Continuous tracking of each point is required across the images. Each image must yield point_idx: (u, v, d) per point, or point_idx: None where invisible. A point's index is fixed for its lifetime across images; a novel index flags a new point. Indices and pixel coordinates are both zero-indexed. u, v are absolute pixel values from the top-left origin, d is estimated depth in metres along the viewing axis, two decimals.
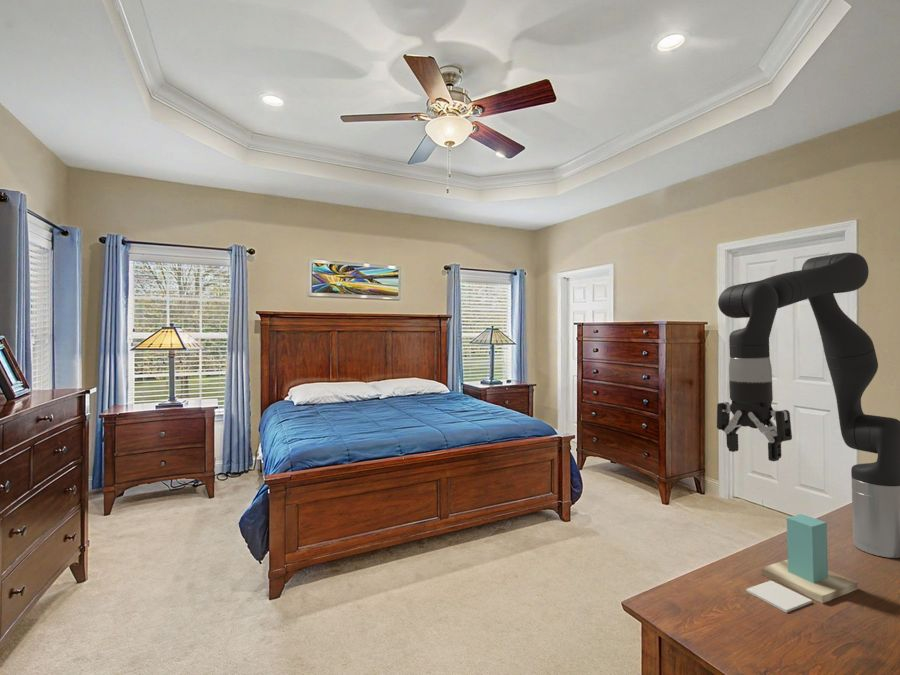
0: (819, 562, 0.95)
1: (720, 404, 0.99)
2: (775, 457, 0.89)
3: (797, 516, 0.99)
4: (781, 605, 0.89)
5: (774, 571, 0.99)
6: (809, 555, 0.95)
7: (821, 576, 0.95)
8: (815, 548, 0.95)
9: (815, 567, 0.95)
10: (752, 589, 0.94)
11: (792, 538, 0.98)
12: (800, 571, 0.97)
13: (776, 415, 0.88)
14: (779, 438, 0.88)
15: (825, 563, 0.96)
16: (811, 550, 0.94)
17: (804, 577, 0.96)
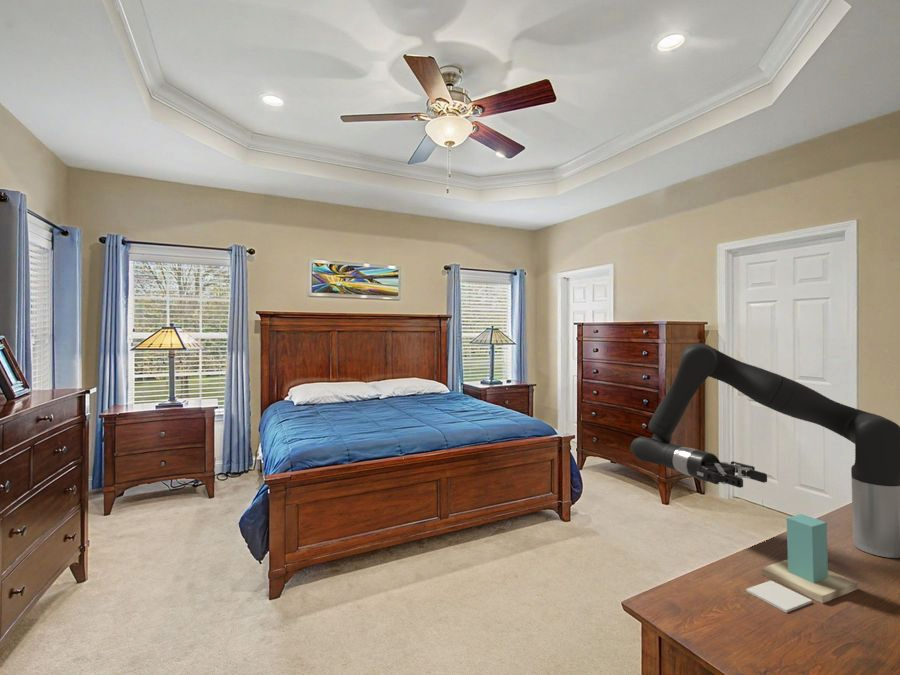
0: (819, 562, 0.95)
1: None
2: (736, 485, 1.07)
3: (797, 516, 0.99)
4: (781, 605, 0.89)
5: (774, 571, 0.99)
6: (809, 555, 0.95)
7: (821, 576, 0.95)
8: (815, 548, 0.95)
9: (815, 567, 0.95)
10: (752, 589, 0.94)
11: (792, 538, 0.98)
12: (800, 571, 0.97)
13: None
14: None
15: (825, 563, 0.96)
16: (811, 550, 0.94)
17: (804, 577, 0.96)
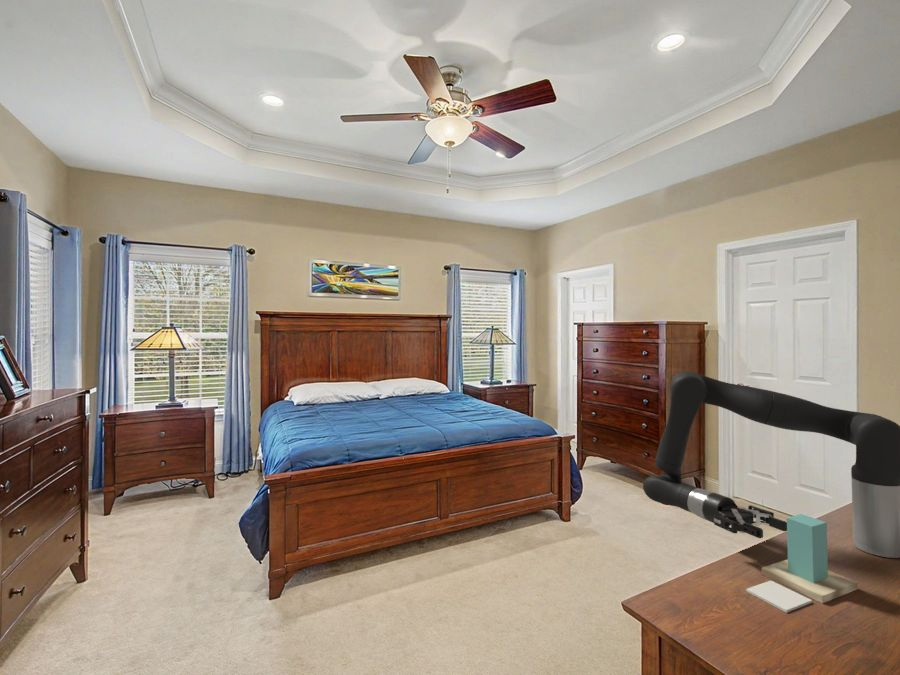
0: (819, 562, 0.95)
1: None
2: None
3: (797, 516, 0.99)
4: (781, 605, 0.89)
5: (774, 571, 0.99)
6: (809, 555, 0.95)
7: (821, 576, 0.95)
8: (815, 548, 0.95)
9: (815, 567, 0.95)
10: (752, 589, 0.94)
11: (792, 538, 0.98)
12: (800, 571, 0.97)
13: None
14: None
15: (825, 563, 0.96)
16: (811, 550, 0.94)
17: (804, 577, 0.96)
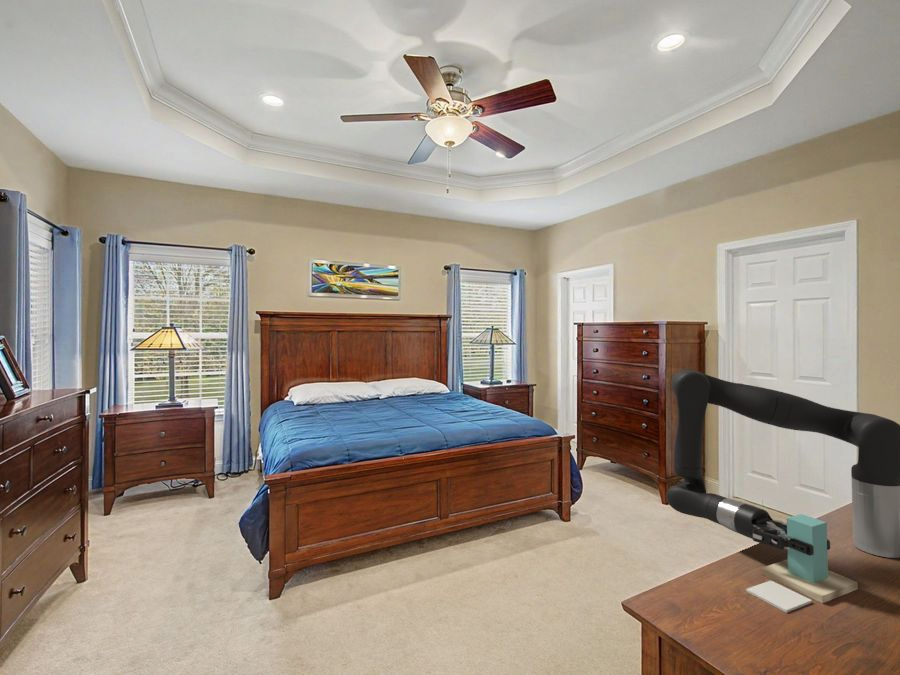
0: (819, 562, 0.95)
1: None
2: None
3: (797, 516, 0.99)
4: (781, 605, 0.89)
5: (774, 571, 0.99)
6: None
7: (821, 576, 0.95)
8: (815, 548, 0.95)
9: (815, 567, 0.95)
10: (752, 589, 0.94)
11: (792, 538, 0.98)
12: (800, 571, 0.97)
13: None
14: None
15: (825, 563, 0.96)
16: None
17: (804, 577, 0.96)
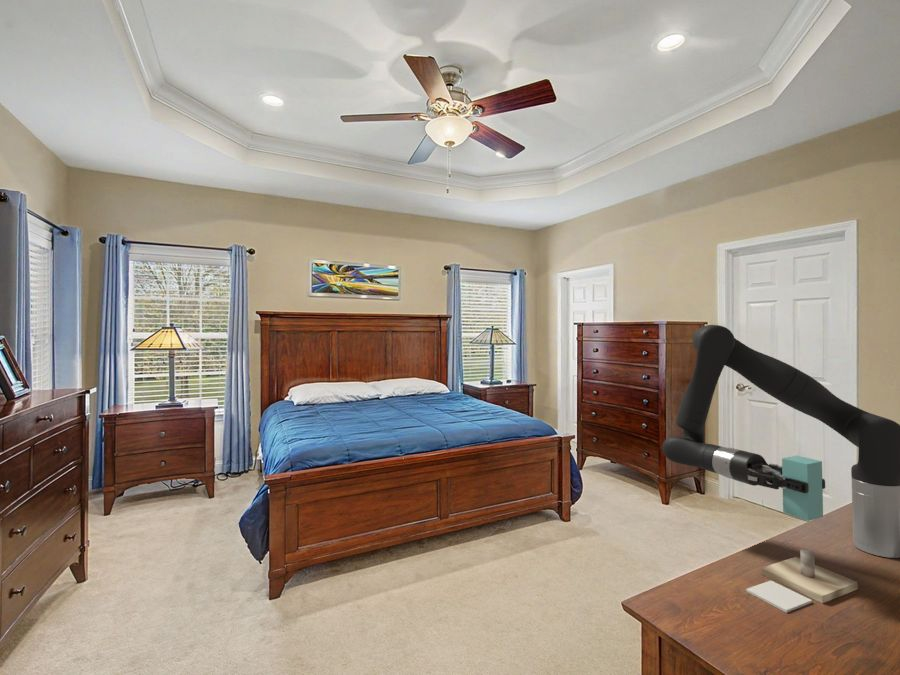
0: (814, 500, 0.95)
1: None
2: (800, 490, 0.94)
3: (792, 457, 0.99)
4: (781, 605, 0.89)
5: (774, 571, 0.99)
6: (804, 493, 0.95)
7: (816, 515, 0.95)
8: (810, 486, 0.94)
9: (810, 505, 0.94)
10: (752, 589, 0.94)
11: (787, 478, 0.98)
12: (795, 510, 0.96)
13: None
14: None
15: (820, 502, 0.95)
16: None
17: (799, 516, 0.96)
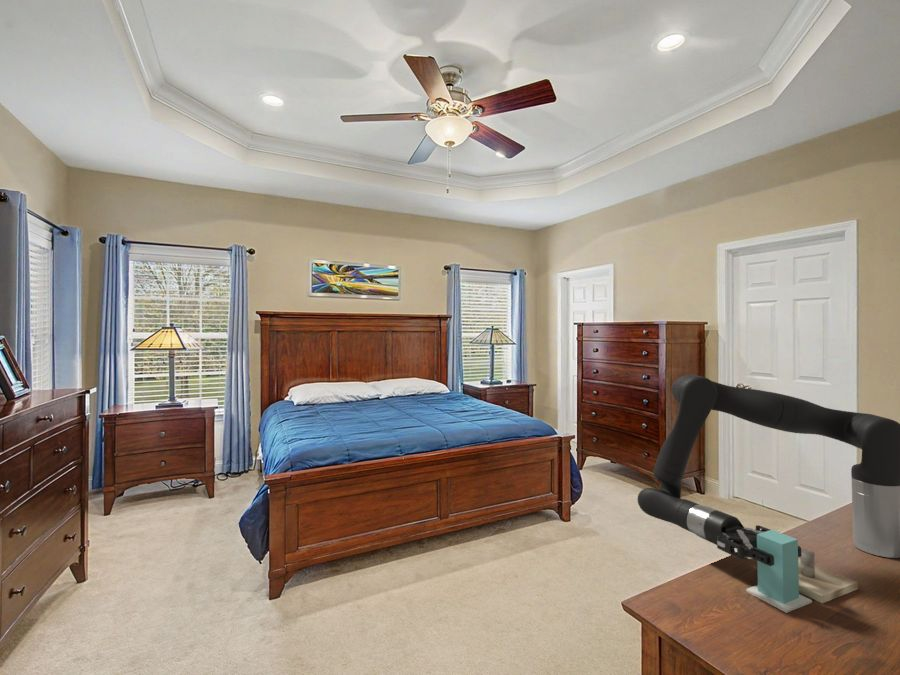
0: (790, 582, 0.90)
1: None
2: None
3: (768, 532, 0.94)
4: (781, 605, 0.89)
5: None
6: (779, 574, 0.90)
7: (792, 596, 0.90)
8: (785, 567, 0.89)
9: (785, 587, 0.89)
10: (752, 589, 0.94)
11: None
12: (770, 590, 0.91)
13: None
14: None
15: (796, 582, 0.91)
16: (781, 569, 0.89)
17: (774, 597, 0.91)
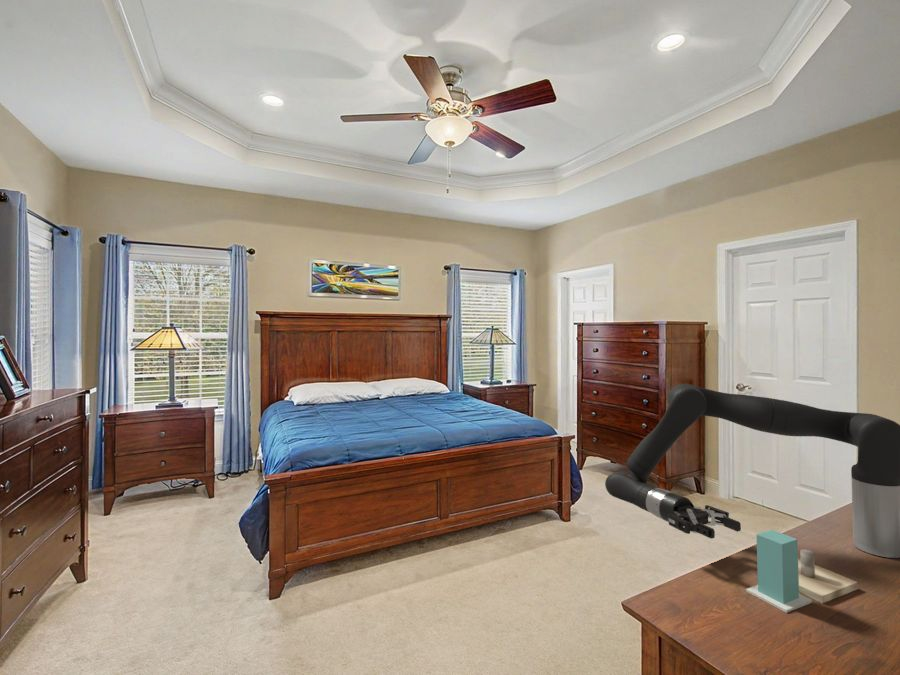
0: (790, 581, 0.90)
1: None
2: None
3: (767, 532, 0.94)
4: (781, 605, 0.89)
5: None
6: (779, 574, 0.90)
7: (792, 596, 0.90)
8: (785, 567, 0.89)
9: (785, 587, 0.89)
10: (752, 589, 0.94)
11: (762, 556, 0.93)
12: (770, 590, 0.91)
13: None
14: None
15: (796, 582, 0.91)
16: (781, 569, 0.89)
17: (774, 597, 0.91)
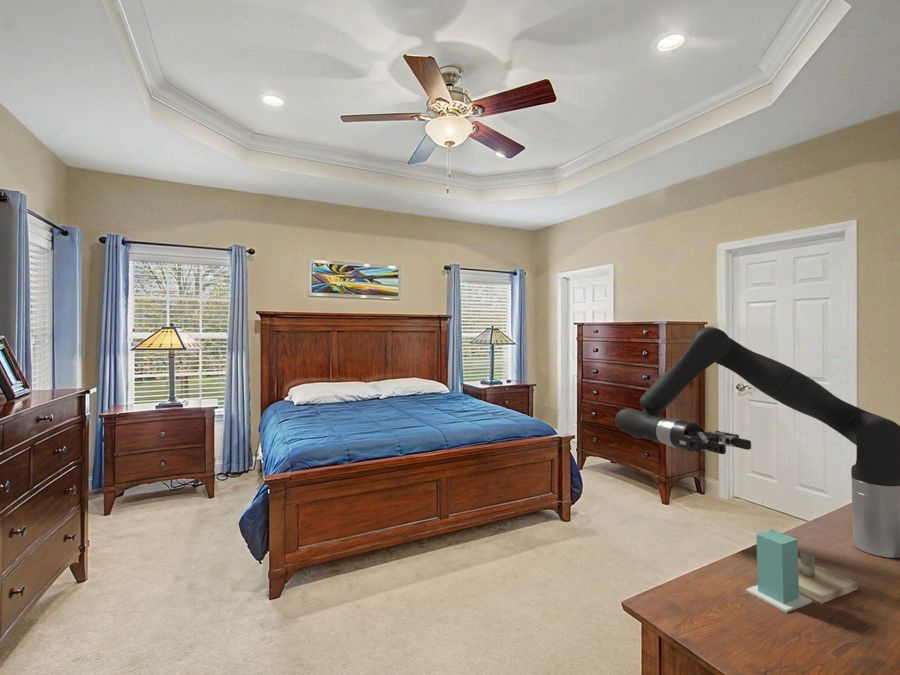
0: (790, 581, 0.90)
1: None
2: (718, 452, 1.03)
3: (767, 532, 0.94)
4: (781, 605, 0.89)
5: None
6: (779, 574, 0.90)
7: (792, 596, 0.90)
8: (785, 567, 0.89)
9: (785, 587, 0.89)
10: (752, 589, 0.94)
11: (762, 556, 0.93)
12: (770, 590, 0.91)
13: None
14: None
15: (796, 582, 0.91)
16: (781, 569, 0.89)
17: (774, 597, 0.91)
